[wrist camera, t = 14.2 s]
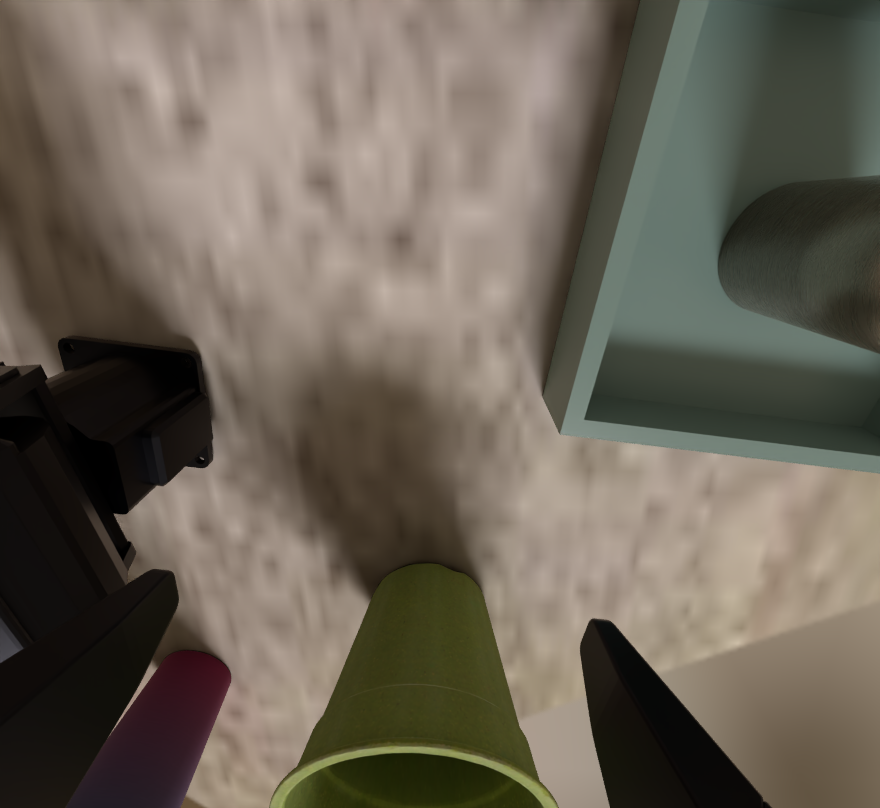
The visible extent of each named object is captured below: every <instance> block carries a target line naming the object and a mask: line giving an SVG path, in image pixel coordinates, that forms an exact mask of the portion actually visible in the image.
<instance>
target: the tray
mask: <svg viewBox="0 0 880 808" xmlns="http://www.w3.org/2000/svg"><path fill="white" fill-rule="evenodd" d="M872 175H880V0H640V3H639V7H638V12H637V16H636V20H635V24H634V28H633V32H632V36H631V40H630V44H629V48H628V52H627V56H626V60H625V64H624V68H623V72H622V77H621V81H620V85H619V89H618V93H617V97H616V101H615V105H614V109H613V113H612V117H611V121H610V125H609V129H608V133H607V137H606V141H605V146H604V150H603V154H602V158H601V162H600V166H599V170H598V174H597V178H596V182H595V186H594V190H593V194H592V198H591V202H590V206H589V211H588V215H587V219H586V223H585V227H584V231H583V235H582V239H581V243H580V247H579V251H578V255H577V259H576V263H575V267H574V271H573V275H572V280H571V284H570V288H569V292H568V296H567V300H566V304H565V308H564V312H563V316H562V320H561V324H560V328H559V332H558V336H557V340H556V345H555V349H554V353H553V357H552V361H551V365H550V369H549V373H548V377H547V381H546V385H545V389H544V393H543V399H544V402H545V404H546V406H547V408H548V410H549V412H550V414H551V417H552V419H553V421H554V423H555V425H556V427H557V429H558V432H559V434H560V435H568V436H576V437H584V438H593V439H601V440H609V441H617V442H625V443H634V444H642V445H650V446H658V447H666V448H675V449H683V450H691V451H699V452H707V453H716V454H724V455H732V456H740V457H749V458H757V459H765V460H773V461H781V462H790V463H798V464H806V465H814V466H822V467H831V468H839V469H847V470H855V471H863V472H872V473H880V354H878V353H875V352H872V351H869V350H866V349H863V348H860V347H857V346H854V345H851V344H848V343H845V342H842V341H839V340H836V339H833V338H830V337H827V336H824V335H821V334H817V333H814V332H811V331H808V330H805V329H802V328H799V327H796V326H793V325H790V324H787V323H784V322H781V321H778V320H775V319H772V318H769V317H766V316H763V315H760V314H757V313H754V312H751V311H748V310H745V309H743V308H741V307H739V306H737V305H736V304H735V303H733V302H732V301H731V300H730V299H729V298H728V296H727V295H726V294H725V292H724V290H723V288H722V286H721V283H720V279H719V272H718V263H719V256H720V251H721V247H722V244H723V242H724V239H725V237H726V235H727V233H728V231H729V229H730V228H731V226H732V224H733V223H734V222H735V220H736V219H737V218H738V216H739V215H740V214H741V213H742V212H743V211H744V210H745V209H746V208H747V207H748V206H749V205H750V204H751V203H752V202H754V201H755V200H756V199H757V198H759V197H760V196H762V195H763V194H765V193H767V192H768V191H770V190H773V189H775V188H777V187H779V186H782V185H785V184H789V183H794V182H803V181H814V180H826V179H838V178H849V177H861V176H872Z"/></svg>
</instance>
